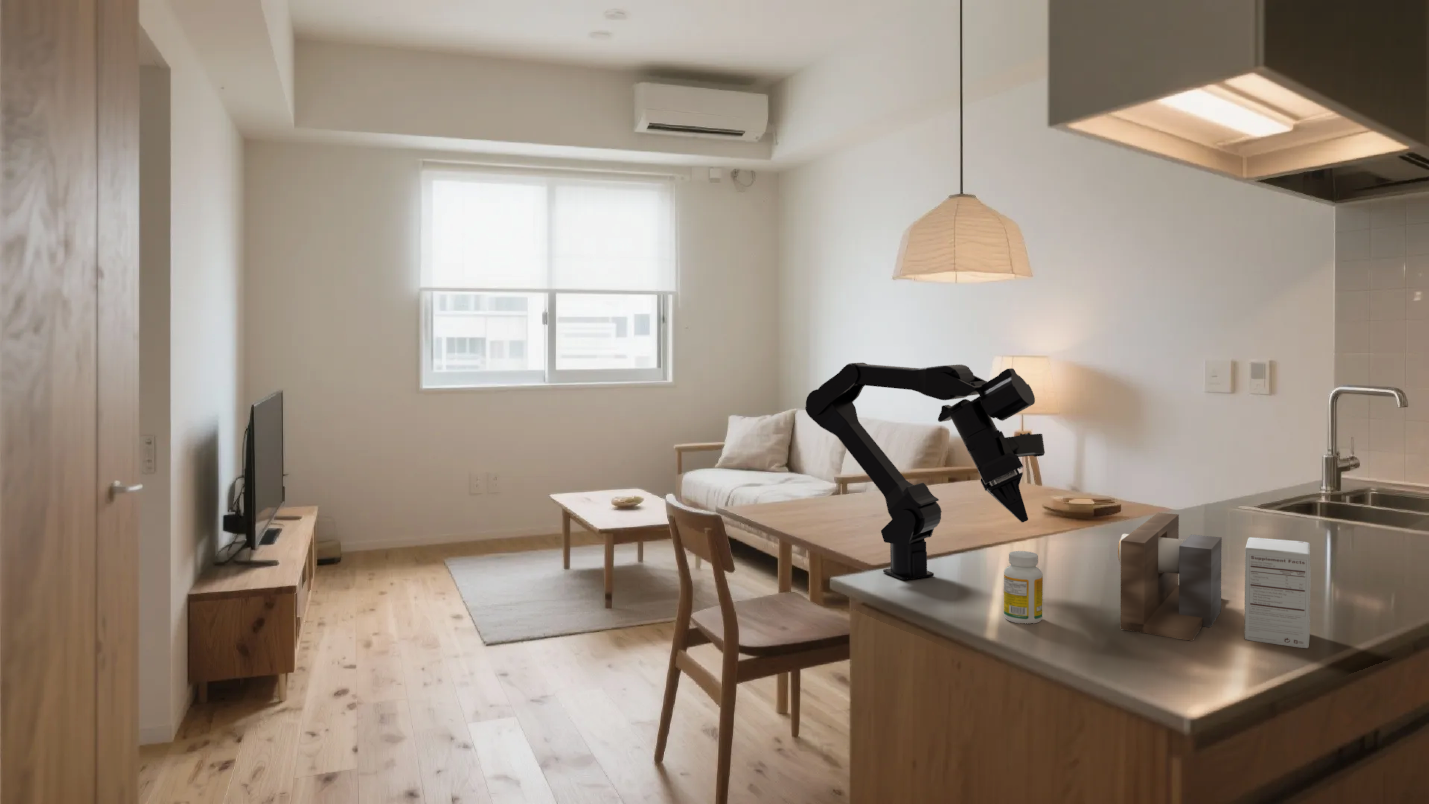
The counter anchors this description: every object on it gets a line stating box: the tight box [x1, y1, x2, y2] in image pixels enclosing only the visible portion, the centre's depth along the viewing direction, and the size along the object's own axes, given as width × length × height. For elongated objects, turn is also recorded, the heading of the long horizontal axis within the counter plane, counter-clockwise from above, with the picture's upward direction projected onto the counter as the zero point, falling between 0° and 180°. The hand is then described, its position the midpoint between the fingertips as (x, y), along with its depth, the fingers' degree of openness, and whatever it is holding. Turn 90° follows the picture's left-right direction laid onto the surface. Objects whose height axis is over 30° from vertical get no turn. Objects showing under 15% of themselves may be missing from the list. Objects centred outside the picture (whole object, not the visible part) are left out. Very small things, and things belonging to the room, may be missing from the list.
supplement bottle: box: [1003, 550, 1044, 625], centre depth 131 cm, size 5×5×10 cm
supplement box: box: [1244, 536, 1311, 649], centre depth 121 cm, size 7×7×13 cm
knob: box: [1117, 533, 1185, 575], centre depth 134 cm, size 8×5×5 cm, turn 53°
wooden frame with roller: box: [1120, 512, 1223, 642], centre depth 132 cm, size 10×24×12 cm, turn 143°
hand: (1025, 521), depth 143 cm, fingers closed
